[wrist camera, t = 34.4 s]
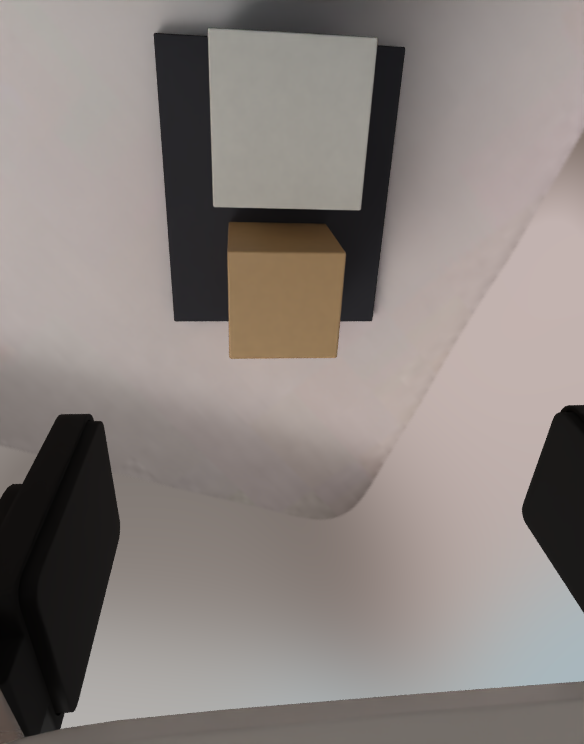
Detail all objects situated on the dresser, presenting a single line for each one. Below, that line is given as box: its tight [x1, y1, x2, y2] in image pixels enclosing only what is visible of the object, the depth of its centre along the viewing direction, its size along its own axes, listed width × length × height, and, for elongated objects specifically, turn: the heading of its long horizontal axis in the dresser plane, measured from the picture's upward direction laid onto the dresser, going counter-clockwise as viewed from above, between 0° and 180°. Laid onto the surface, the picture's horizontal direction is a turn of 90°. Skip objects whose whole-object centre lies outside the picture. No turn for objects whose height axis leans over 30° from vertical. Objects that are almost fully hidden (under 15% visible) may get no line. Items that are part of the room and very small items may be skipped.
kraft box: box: [227, 222, 346, 359], centre depth 23 cm, size 4×4×5 cm
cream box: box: [208, 27, 378, 210], centre depth 20 cm, size 6×6×4 cm
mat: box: [154, 33, 405, 321], centre depth 23 cm, size 12×10×1 cm
